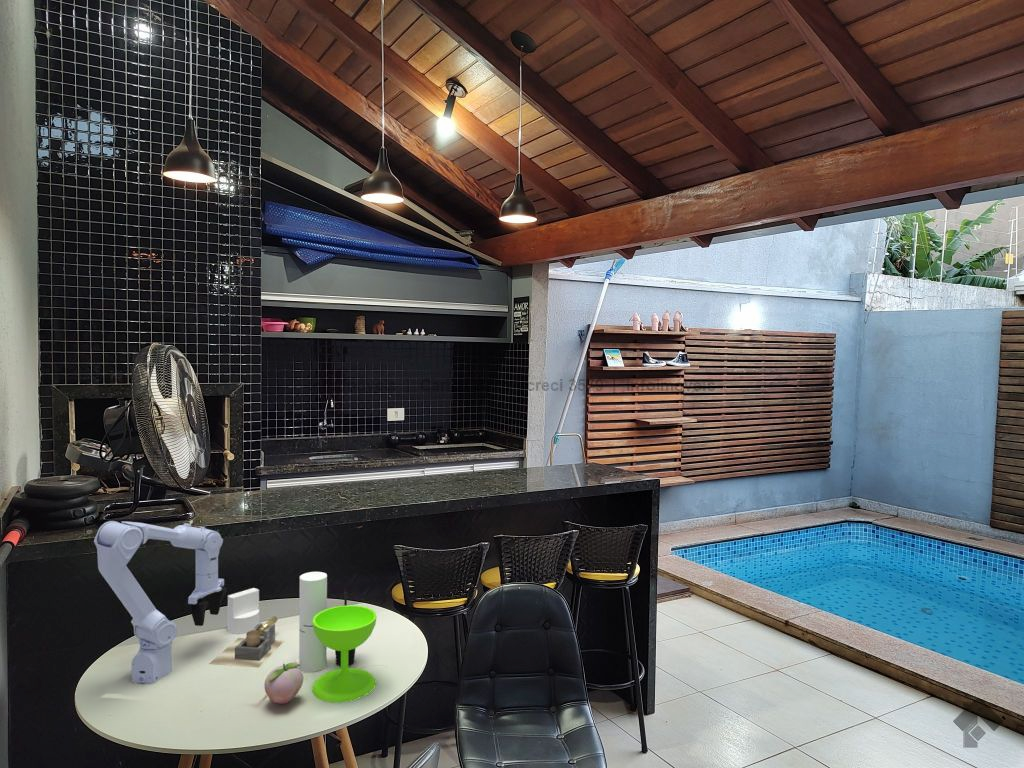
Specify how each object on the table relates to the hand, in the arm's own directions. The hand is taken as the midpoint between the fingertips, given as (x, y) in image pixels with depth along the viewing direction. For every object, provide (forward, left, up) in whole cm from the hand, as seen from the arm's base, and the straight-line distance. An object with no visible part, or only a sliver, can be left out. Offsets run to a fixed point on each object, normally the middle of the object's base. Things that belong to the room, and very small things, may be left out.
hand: (206, 619), depth 185 cm
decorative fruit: (-22, -32, -10) cm, 40 cm away
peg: (-1, -14, -9) cm, 16 cm away
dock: (0, -12, -10) cm, 15 cm away
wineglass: (-12, -44, -10) cm, 47 cm away
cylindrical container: (-3, -32, -10) cm, 34 cm away
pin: (+8, -14, -5) cm, 17 cm away
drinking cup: (0, -40, -10) cm, 41 cm away
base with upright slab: (+15, -3, -10) cm, 18 cm away
